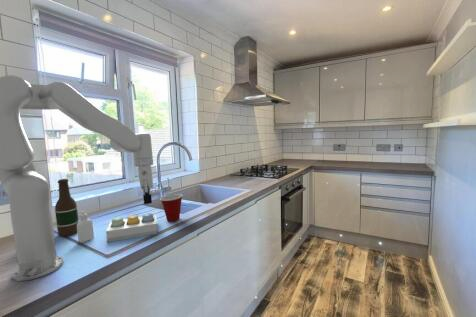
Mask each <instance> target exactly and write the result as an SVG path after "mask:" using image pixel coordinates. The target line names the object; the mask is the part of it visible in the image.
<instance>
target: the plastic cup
mask: <svg viewBox="0 0 476 317" xmlns="http://www.w3.org/2000/svg"><path fill="white" fill-rule="evenodd" d="M182 197H183V194H181V193H174V194H167V195H164V196H162V197H160V198H159V200H160V202H161V204H162V206H163V210H164V215H165V218H166V221H167V222H168V223H176V222H178V221H179V220H180V218H181V217H180V215H181V207H182V199H183V198H182Z"/></svg>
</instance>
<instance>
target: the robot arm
mask: <svg viewBox="0 0 476 317" xmlns="http://www.w3.org/2000/svg"><path fill="white" fill-rule="evenodd" d="M21 110H40V111H43V110H45V111H46V110H58V111H60V112H61V113H63V115H65V116H67V117H69V118H70V119H71V120H73V121H74V122H75V123H76V124H78V125H79V126H81V127H82V128H84V129H85V130H87V131H91V132H94V133H97V134H100V135H102V136H104V137H106V138H108V139H109V146H110V147H111V149H112V150H113V151H116V152H118V153H129V154H133V161H134V163H133V164H134V167H136V168H137V170H138V171H137V172H138V178H139V179H138V180H139V186H140V190H142V192H143V194H142V195H143V196H142V197H143V204H144V205H149V204H152V202H153V200H152V193H151V189H153V188H154V180H153V169H152V166H153V165H154V159H153V158H154V157H153V148H152V146H153V145H152V139H151V138H152V137H151V134H150V133H149V132H138V133H135V132H134V131H133V130H132V129H130V128H129V127H128V126H127V125H126V124H125V123H123V122H122V121H120V120H118V119H117V118H114V117H113V116H111V115H110V114H108V113H107V112H104V111H103V110H101V109H100V108H98V107H97V106H96V105H95V104H94V103H92V102H91V101H89V100H88V99H87V98H86V97H85V96H83V95H82V94H81V92H78V91H77V90H76V89H75V88H74V87H72V86H71V85H70V84H68V83H66V82H65V81H64V82H63V81H60V80H59V81H58V80H57V81H51V82H49V83H47V84H34V83H30V82H28V81H27V80H26V79H24V78H23V77H20V76H18V75H17V76H16V75H14V74H9V75H3V76H2V75H1V76H0V184H1V186H2V188H3V191H5V193H6V194H7V196H8V197H7V198H8V202H9V211H10V212H9V213H10V219H11V226H12V232H13V238H14V239H13V240H14V245H15V246H14V247H15V254H16V260H17V266H18V267H17V268H15V269H14V270H13V271H12V275H11V276H12V279H13V280H14V281H17V282H21V281H29V280H35V279H39V278H41V277H44V276H46V275H49V274H51V273H53V272H54V271H56V270H57V269H60V267H62V266H63V264H64V258H63V257H62V256H60V255H57V248H56V240H55V232H54V231H55V229H54V224H53V223H54V222H53V217H52V216H53V215H52V208H51V187H50V184H49V182H48V180H47V179H46V178H45V177H44V176H43V175H42V174H40V173H38V170H37V169H36V166H35V164H34V158H35V152H34V149H33V147H32V145H31V143H30V141H29V138H28V136H27V134H26V131H25V129H24V126H23V123H22V119H21V114H20V113H21Z"/></svg>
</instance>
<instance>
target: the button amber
mask: <svg viewBox="0 0 476 317" xmlns="http://www.w3.org/2000/svg"><path fill="white" fill-rule="evenodd" d="M138 217H139V215H138V214H136V215H135V214H133V215H129V216H127V218H126V219H127V221H128V225H132V224H138V223H139V219H138Z"/></svg>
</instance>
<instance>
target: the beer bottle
mask: <svg viewBox="0 0 476 317" xmlns="http://www.w3.org/2000/svg"><path fill="white" fill-rule="evenodd" d="M57 183H58V200H57V202H56V203H55V207H54V213H55V221H56V228H57V235H58V236H59V237H63V238H64V237H70V236H73V235H76V234H77V223H78V222H80V221H79V214H78V206H77V202H76V200H75V199H74V198H73V197H72V196H71V195H72V194H71V192H70V191H71V190H70V187H69V179H68V178H63V179H62V178H61V179H58V181H57Z"/></svg>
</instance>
